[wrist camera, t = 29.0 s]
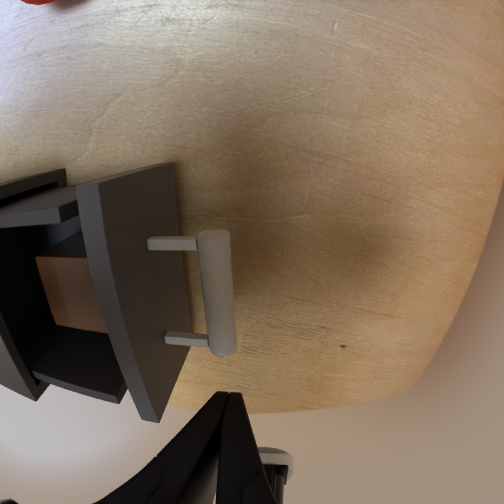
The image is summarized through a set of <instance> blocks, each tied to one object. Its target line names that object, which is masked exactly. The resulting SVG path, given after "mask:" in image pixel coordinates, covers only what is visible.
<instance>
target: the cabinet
mask: <svg viewBox="0 0 504 504" xmlns="http://www.w3.org/2000/svg"><path fill="white" fill-rule="evenodd" d="M61 187H67V185H66V176H65V169H59V170H54V171H49V172H45V173H40V174H36V175H31V176H27V177H23V178H19V179H15V180H11V181H7V182H4V183H0V201H3V200H5V199H8V198H11V197H14V196H17V195H20V194H26V193H31V192H37V191H42V190H48V189H54V188H61ZM0 384H1V385H3V386H5V387H7V388H9V389H11V390H13V391H15V392H17V393H19V394H21V395H23V396H25V397H27V398H29V399H32V400H34V401H37V400H38V399H39V398H40V396H41V395H42V394H43V393H44V391H45V390H46V389H47V387H48V386H49V385H50V383H47V382H44V381H42V380H39V379H36V378H34V377H31V375H30V373H29V371H28V369H27V367H26V365H25V363H24V361H23V359H22V357H21V355H20V353H19V351H18V349H17V347H16V345H15V343H14V341H13V339H12V336H11V334H10V332H9V330H8V327H7V325H6V322H5V320H4V318H3V315H2V312H1V310H0Z"/></svg>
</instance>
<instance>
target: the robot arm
mask: <svg viewBox="0 0 504 504" xmlns="http://www.w3.org/2000/svg"><path fill="white" fill-rule="evenodd" d="M288 467H289V466H288V465H276V464H262V461H261V457H260V454H259V451H258V448H257V445H256V441H255V438H254V435H253V431H252V428H251V424H250V421H249V417H248V414H247V410H246V407H245V403H244V400H243V396H242V394H241V393H239V392H230V393H228V392H223V391H217V392H215V394H214V395H213V396H212V397H211V398H210V399H209V400H208V401H207V402H206V404H205V405H204V406H203V407H202V408H201V409H200V410H199V411H198V412H197V413H196V414H195V416H194V417H193V418H192V419H191V420H190V421H189V422H188V423H187V424H186V425H185V426H184V428H182V430H181V431H180V432H179V433H178V434H177V435H176V436H175V437H174V438H173V439H172V440H171V441H170V442H169V443H168V444H167V445H166V446H165V447H164V448H163V449H162V450H161V451H160V452H159V453H158V454H157V457H154V458H153V459H152V460H151V461H150V462H149V463H148V464H147V465H146V466H145V467H144V468H143V469H142V470H141V471H140V472H138V473H137V474H136V475H135V476H133V477H132V478H131V479H129V480H128V481H127V482H125V483H124V484H123V485H121V486H120V487H119V488H117V489H116V490H114V491H113V492H111V493H110V494H108V495H107V496H105V497H104V498H103V499H101V500H99V501H97V502H95V503H93V504H212V503H213V499H214V496H215V492H216V504H283V491H284V485H285V484H286V481H287V475H288ZM0 504H18V503H17V502H15V501H14V500H12V499H5V500H1V501H0Z"/></svg>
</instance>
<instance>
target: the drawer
mask: <svg viewBox="0 0 504 504" xmlns="http://www.w3.org/2000/svg"><path fill="white" fill-rule="evenodd" d="M77 232H83V237H84V242H85V247H86V252H87V257H88V262H89V266H90V270H91V275H92V279H93V283H94V287H95V290H96V294H97V298H98V302H99V305H100V309H101V312H102V316H103V319H104V322H105V325H106V329H107V332H108V334H107V333H101V332H95V331H89V330H83V329H77V328H72V327H66V326H61V325H57V324H56V323H55V320H54V317H53V314H52V312H51V309H50V306H49V303H48V300H47V297H46V294H45V291H44V287H43V284H42V281H41V277H40V274H39V270H38V266H37V263H36V259H35V257H36V256H37V255H39V254H40V253H42V252H44V251H45V250H47V249H49V248H50V247H52V246H54V245H56V244H57V243H59V242H61V241H62V240H64V239H66V238H68V237H70V236H71V235H73V234H75V233H77ZM196 250H198V254H199V264H200V274H201V283H202V292H203V301H204V309H205V317H206V325H207V333H208V334H197V333H193V328H192V322H191V315H190V309H189V302H188V295H187V287H186V280H185V272H184V264H183V256H182V251H196ZM0 310H1V312H2V315H3V318H4V320H5V322H6V325H7V327H8V330H9V332H10V334H11V336H12V339H13V341H14V343H15V345H16V347H17V349H18V351H19V353H20V355H21V357H22V359H23V361H24V363H25V365H26V367H27V369H28V371H29V373H30V375H31V377H34V378H36V379H39V380H42V381H44V382H47V383H50V384H53V385H55V386H58V387H61V388H64V389H67V390H71V391H73V392H77V393H80V394H83V395H87V396H90V397H93V398H97V399H101V400H104V401H108V402H112V403H116V404H120V402H121V400H122V398H123V396H124V394H125V393H126V391H127V389H129V392H130V394H131V396H132V399H133V401H134V403H135V406H136V408H137V410H138V413H139V415H140V417H141V419H142V420H145V421H151V422H155V423H160V420H161V418H162V415H163V413H164V410H165V408H166V405H167V403H168V400H169V398H170V395H171V393H172V391H173V388H174V386H175V383H176V381H177V378H178V376H179V373H180V371H181V369H182V366H183V364H184V361H185V359H186V357H187V354H188V352H189V349H190V347H191V346H197V347H209V348H210V351H211V353H212V354H214V355H216V356H221V357H224V356H229V355H231V354H233V353H234V352H235V351H236V349H237V343H236V329H235V314H234V299H233V283H232V266H231V248H230V233H229V232H228V231H226V230H222V229H211V230H205V231H202V232H200V233H198V234H197V236H180V228H179V218H178V207H177V195H176V182H175V168H174V162H171V163H160V164H154V165H150V166H146V167H142V168H138V169H134V170H130V171H126V172H122V173H119V174H115V175H111V176H108V177H104V178H101V179H97V180H94V181H90V182H87V183H84V184H80V185H74V186H67V187H61V188H54V189H48V190H42V191H37V192H31V193H26V194H20V195H17V196H14V197H11V198H8V199H5V200H3V201H0Z"/></svg>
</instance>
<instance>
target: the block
mask: <svg viewBox="0 0 504 504" xmlns="http://www.w3.org/2000/svg"><path fill="white" fill-rule="evenodd" d="M35 259H36V263H37V266H38V270H39V274H40V277H41V281H42V284H43V287H44V291H45V294H46V297H47V300H48V303H49V306H50V309H51V312H52V314H53V317H54V320H55V323H56V324H57V325H61V326H66V327H72V328H77V329H83V330H89V331H95V332H101V333H107V334H108V332H107V329H106V325H105V322H104V319H103V316H102V312H101V309H100V305H99V302H98V298H97V294H96V290H95V287H94V283H93V279H92V275H91V270H90V266H89V262H88V257H87V252H86V247H85V242H84V237H83V232H77V233H75V234H73V235H71V236H70V237H68V238H66V239H64V240H62V241H61V242H59V243H57V244H56V245H54V246H52V247H50V248H49V249H47V250H45V251H44V252H42V253H40V254H39V255H37V256H36V257H35Z"/></svg>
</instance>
